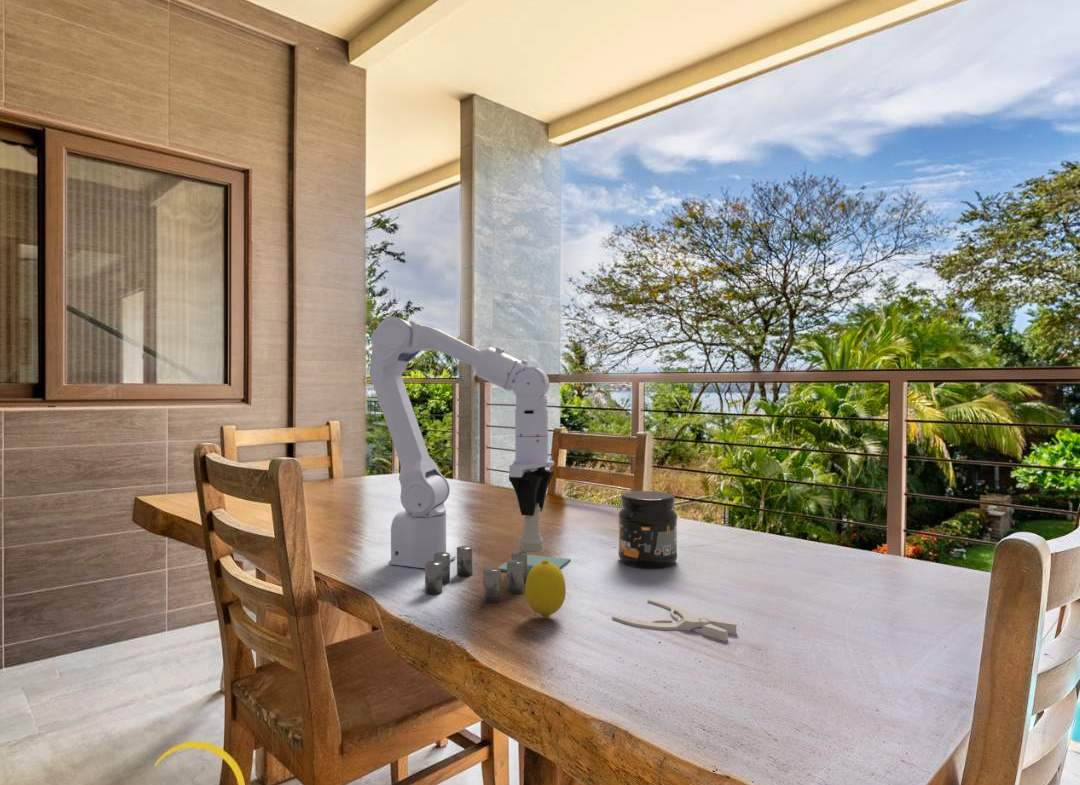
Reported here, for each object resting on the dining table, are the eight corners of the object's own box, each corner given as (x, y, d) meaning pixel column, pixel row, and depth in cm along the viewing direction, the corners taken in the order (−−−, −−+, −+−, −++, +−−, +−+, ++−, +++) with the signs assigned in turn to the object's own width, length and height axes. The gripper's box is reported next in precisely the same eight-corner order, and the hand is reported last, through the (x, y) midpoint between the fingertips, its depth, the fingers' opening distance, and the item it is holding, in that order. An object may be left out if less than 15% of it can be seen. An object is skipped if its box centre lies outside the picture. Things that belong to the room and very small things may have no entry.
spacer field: (413, 592, 99) (413, 563, 99) (454, 570, 110) (453, 544, 110) (505, 605, 93) (505, 574, 93) (538, 580, 105) (538, 552, 105)
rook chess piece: (548, 548, 113) (549, 503, 113) (534, 554, 110) (535, 507, 109) (527, 544, 116) (528, 500, 116) (513, 549, 112) (514, 504, 112)
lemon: (562, 627, 84) (561, 566, 84) (521, 624, 86) (520, 564, 86) (568, 612, 90) (568, 555, 90) (530, 609, 91) (529, 553, 91)
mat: (496, 570, 110) (496, 568, 110) (519, 556, 120) (519, 553, 120) (550, 576, 107) (550, 574, 107) (570, 561, 116) (570, 559, 116)
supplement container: (608, 556, 119) (608, 492, 119) (659, 551, 122) (659, 489, 122) (634, 572, 109) (634, 501, 109) (688, 566, 112) (688, 498, 112)
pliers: (650, 592, 95) (748, 616, 85) (650, 603, 95) (748, 628, 85) (611, 610, 87) (713, 639, 77) (611, 622, 87) (713, 652, 77)
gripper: (537, 439, 104) (537, 523, 104) (566, 433, 118) (567, 507, 118) (497, 438, 107) (498, 519, 107) (531, 432, 120) (531, 504, 120)
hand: (531, 513), depth 113 cm, fingers closed on rook chess piece, 3 cm apart
